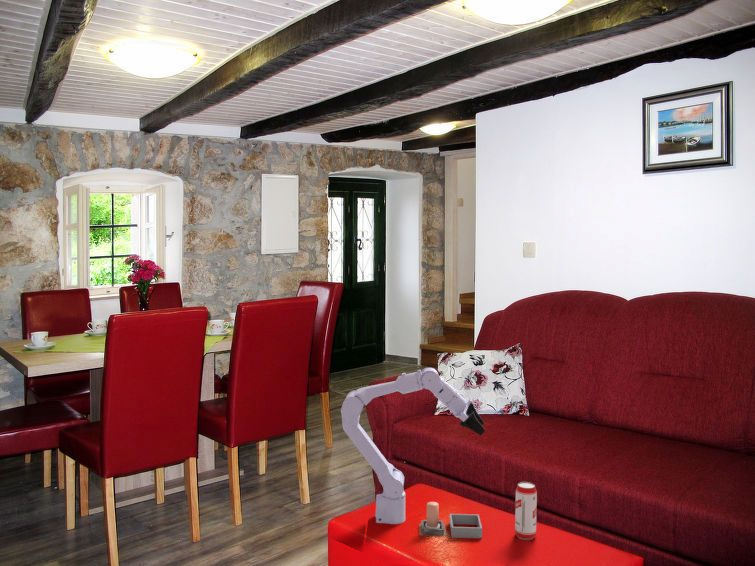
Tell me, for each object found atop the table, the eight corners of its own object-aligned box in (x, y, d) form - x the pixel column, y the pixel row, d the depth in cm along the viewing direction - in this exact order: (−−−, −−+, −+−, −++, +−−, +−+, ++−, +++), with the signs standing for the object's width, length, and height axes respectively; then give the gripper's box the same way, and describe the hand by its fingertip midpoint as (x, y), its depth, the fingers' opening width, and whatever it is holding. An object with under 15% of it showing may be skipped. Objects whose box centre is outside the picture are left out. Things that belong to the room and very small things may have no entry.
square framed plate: (419, 538, 201) (419, 530, 200) (419, 526, 209) (419, 519, 208) (446, 539, 200) (446, 530, 200) (444, 527, 208) (445, 519, 208)
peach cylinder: (425, 532, 202) (425, 506, 202) (425, 526, 207) (425, 501, 206) (440, 532, 202) (440, 507, 202) (439, 526, 206) (439, 501, 206)
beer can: (534, 532, 205) (535, 481, 204) (537, 541, 199) (538, 489, 198) (513, 531, 206) (514, 480, 204) (516, 540, 199) (516, 488, 198)
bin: (451, 540, 199) (451, 527, 199) (449, 526, 209) (449, 513, 209) (482, 541, 199) (482, 528, 198) (478, 527, 209) (478, 514, 208)
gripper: (460, 396, 200) (492, 427, 200) (459, 383, 215) (490, 413, 215) (443, 412, 201) (476, 443, 201) (444, 398, 216) (474, 428, 216)
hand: (482, 428), depth 208 cm, fingers open, 7 cm apart
